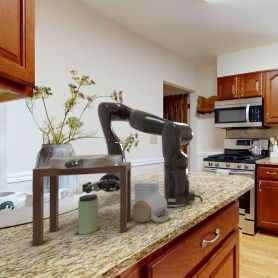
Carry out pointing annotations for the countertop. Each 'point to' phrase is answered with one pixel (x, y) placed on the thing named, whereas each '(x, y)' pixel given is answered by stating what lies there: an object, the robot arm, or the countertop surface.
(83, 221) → the spice bottle
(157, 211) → the ceramic mug
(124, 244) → the countertop surface
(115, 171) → the pan stand
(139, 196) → the medicine box
